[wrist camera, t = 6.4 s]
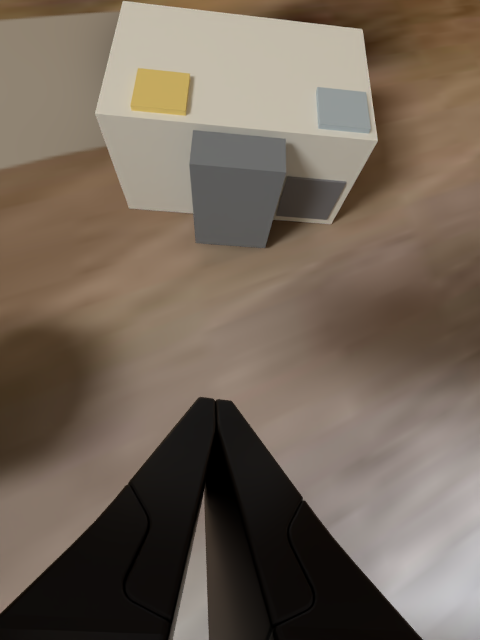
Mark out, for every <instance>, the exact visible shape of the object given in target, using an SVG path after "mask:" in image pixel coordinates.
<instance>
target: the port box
mask: <svg viewBox="0 0 480 640" xmlns="http://www.w3.org/2000/svg"><path fill="white" fill-rule="evenodd" d="M95 115H96V118H97V120H98V123H99V126H100V129H101V131H102V134H103V137H104V140H105V143H106V145H107V148H108V151H109V154H110V156H111V159H112V162H113V165H114V168H115V170H116V173H117V176H118V179H119V181H120V184H121V187H122V190H123V192H124V195H125V198H126V201H127V204H128V206H129V208H131V209H144V210H157V211H169V212H182V213H193V203H192V191H191V179H190V167H189V162H190V153H191V144H192V134H193V130H198V131H209V132H220V133H230V134H241V135H251V136H262V137H272V138H283V139H286V175H285V179H284V182H283V186H282V189H281V193H280V196H279V200H278V204H277V207H276V211H275V214H274V218H273V220H283V221H296V222H308V223H321V224H332V222H333V220H334V218H335V216H336V215H337V213H338V211H339V209H340V208H341V206H342V204H343V202H344V200H345V199H346V197H347V195H348V193H349V192H350V190H351V188H352V186H353V184H354V183H355V181H356V179H357V177H358V175H359V174H360V172H361V170H362V168H363V167H364V165H365V163H366V161H367V159H368V158H369V156H370V154H371V152H372V150H373V149H374V147H375V145H376V143H377V142H378V138H377V131H376V124H375V117H374V110H373V102H372V95H371V88H370V81H369V74H368V66H367V59H366V52H365V45H364V38H363V30H362V29H355V28H347V27H338V26H330V25H321V24H313V23H305V22H296V21H288V20H279V19H271V18H262V17H254V16H245V15H237V14H228V13H220V12H212V11H203V10H195V9H186V8H178V7H169V6H161V5H152V4H144V3H135V2H127V1H123V3H122V7H121V11H120V15H119V19H118V23H117V27H116V31H115V35H114V39H113V43H112V47H111V51H110V55H109V59H108V63H107V68H106V71H105V76H104V80H103V84H102V88H101V92H100V96H99V100H98V104H97V108H96V112H95Z"/></svg>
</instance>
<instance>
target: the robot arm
mask: <svg viewBox="0 0 480 640" xmlns="http://www.w3.org/2000/svg"><path fill="white" fill-rule="evenodd" d="M204 488H205V491H204ZM203 493H204V503H205V533H206V564H207V594H208V624H209V640H423V639H422V638H421V637H420V636H419V635H418V634H417V633H416V632H415V631H414V629H413V628H412V627H411V626H410V625H409V624H408V623H407V621H406V620H405V619H404V618H403V617H402V616H401V615H400V614H399V612H398V611H397V610H396V609H395V608H394V607H393V606H392V605H391V603H390V602H389V601H388V600H387V599H386V598H385V597H384V595H383V594H382V593H381V592H380V591H379V590H378V589H377V588H376V586H375V585H374V584H373V583H372V582H371V581H370V580H369V579H368V577H367V576H366V575H365V574H364V573H363V572H362V571H361V569H360V568H359V567H358V566H357V565H356V564H355V563H354V561H353V560H352V559H351V558H350V557H349V556H348V554H347V553H346V552H345V551H344V550H343V549H342V547H341V546H340V545H339V544H338V543H337V541H336V540H335V539H334V538H333V537H332V535H331V534H330V533H329V531H328V530H327V529H326V528H325V526H324V525H323V524H322V522H321V521H320V520H319V519H318V517H317V516H316V515H315V513H314V512H313V511H312V509H311V508H310V507H309V505H308V504H307V502H306V501H304V500H303V497H302V496H301V494H300V493H299V492H298V490H297V489H296V488H295V486H294V485H293V484H292V482H291V481H290V480H289V478H288V477H287V475H286V474H285V473H284V471H283V470H282V469H281V467H280V466H279V465H278V463H277V462H276V460H275V459H274V458H273V456H272V455H271V454H270V452H269V451H268V450H267V448H266V447H265V445H264V444H263V443H262V441H261V440H260V439H259V437H258V436H257V435H256V433H255V432H254V430H253V429H252V428H251V426H250V425H249V424H248V422H247V421H246V420H245V418H244V417H243V415H242V414H241V413H240V411H239V410H238V409H237V407H236V406H235V405H234V403H233V402H232V401H229V400H220V399H217V400H216V401H215V400H214V399H212V398H204V397H199V398H198V399H197V400H196V401H195V402H194V404H193V405H192V406H191V407H190V409H189V410H188V411H187V412H186V413H185V415H184V416H183V417H182V418H181V419H180V421H179V422H178V423H177V424H176V425H175V427H174V428H173V429H172V430H171V432H170V433H169V434H168V435H167V436H166V438H165V439H164V440H163V441H162V442H161V444H160V445H159V446H158V447H157V449H156V450H155V451H154V452H153V453H152V455H151V456H150V457H149V458H148V459H147V461H146V462H145V463H144V464H143V466H142V467H141V468H140V469H139V470H138V472H137V473H136V474H135V475H134V476H133V478H132V479H131V480H130V481H129V483H128V485H126V486H125V487H124V488H123V490H122V491H121V492H120V493H119V494H118V496H117V497H116V498H115V499H114V500H113V501H112V503H111V504H110V505H109V506H108V507H107V508H106V509H105V511H104V512H103V513H102V514H101V515H100V516H99V517H98V519H97V520H96V521H95V522H94V523H93V524H92V525H91V526H90V527H89V528H88V529H87V530H86V531H85V532H84V533H83V534H82V535H81V536H80V537H79V538H78V539H77V540H76V541H75V542H74V543H73V544H72V545H71V546H70V547H69V548H68V549H67V550H66V551H65V552H64V553H63V554H62V555H61V556H60V557H59V558H57V559H56V560H55V561H54V562H53V563H52V564H51V565H50V566H49V567H48V568H47V569H46V570H45V571H44V572H43V573H42V574H41V575H40V576H39V577H38V578H37V579H36V580H35V581H34V582H33V583H32V584H31V585H29V586H28V587H27V588H26V589H25V590H24V591H23V592H22V593H21V594H20V595H19V596H18V597H17V598H16V599H15V600H14V601H13V602H12V603H11V604H10V605H9V606H8V607H7V608H6V609H5V610H4V611H3V612H1V613H0V640H173V635H174V631H175V626H176V621H177V617H178V612H179V607H180V602H181V598H182V593H183V588H184V584H185V579H186V574H187V569H188V565H189V560H190V555H191V551H192V546H193V541H194V536H195V532H196V527H197V522H198V518H199V513H200V508H201V504H202V499H203Z"/></svg>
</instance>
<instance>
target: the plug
mask: <svg viewBox="0 0 480 640" xmlns="http://www.w3.org/2000/svg"><path fill="white" fill-rule="evenodd" d="M189 167H190V179H191V191H192V203H193V215H194V227H195V239H196V243H203V244H217V245H230V246H244V247H258V248H265V246H266V243H267V239H268V236H269V232H270V228H271V225H272V221H273V218H274V214H275V211H276V207H277V204H278V200H279V196H280V193H281V189H282V186H283V182H284V179H285V175H286V139H283V138H272V137H262V136H251V135H241V134H230V133H220V132H209V131H198V130H193V134H192V144H191V153H190V162H189Z"/></svg>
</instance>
